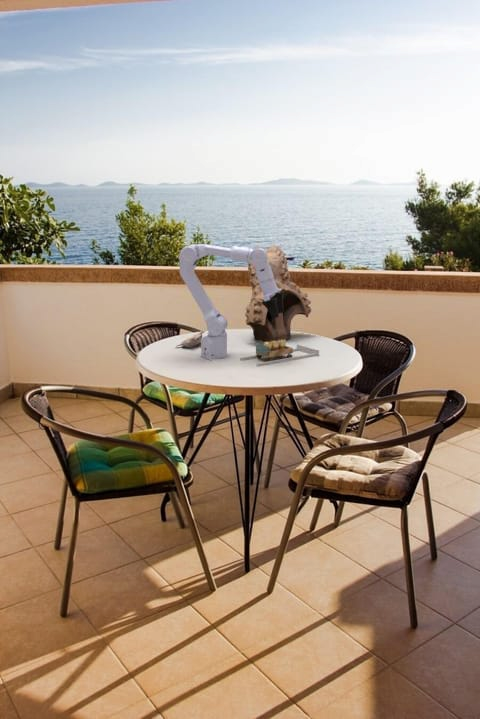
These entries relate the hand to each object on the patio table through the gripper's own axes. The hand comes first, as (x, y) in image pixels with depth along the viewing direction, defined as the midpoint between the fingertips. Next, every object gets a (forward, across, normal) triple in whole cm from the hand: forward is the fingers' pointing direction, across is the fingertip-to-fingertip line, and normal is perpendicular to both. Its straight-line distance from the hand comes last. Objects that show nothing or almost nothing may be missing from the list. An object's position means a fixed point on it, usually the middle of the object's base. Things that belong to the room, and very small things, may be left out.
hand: (278, 315), depth 246 cm
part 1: (+12, -5, +7) cm, 15 cm away
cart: (+15, -2, +6) cm, 17 cm away
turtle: (+4, +10, +44) cm, 45 cm away
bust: (+15, +34, +17) cm, 41 cm away
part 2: (+12, -2, +5) cm, 14 cm away
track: (+16, 0, +5) cm, 17 cm away
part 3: (+13, +1, +4) cm, 14 cm away
